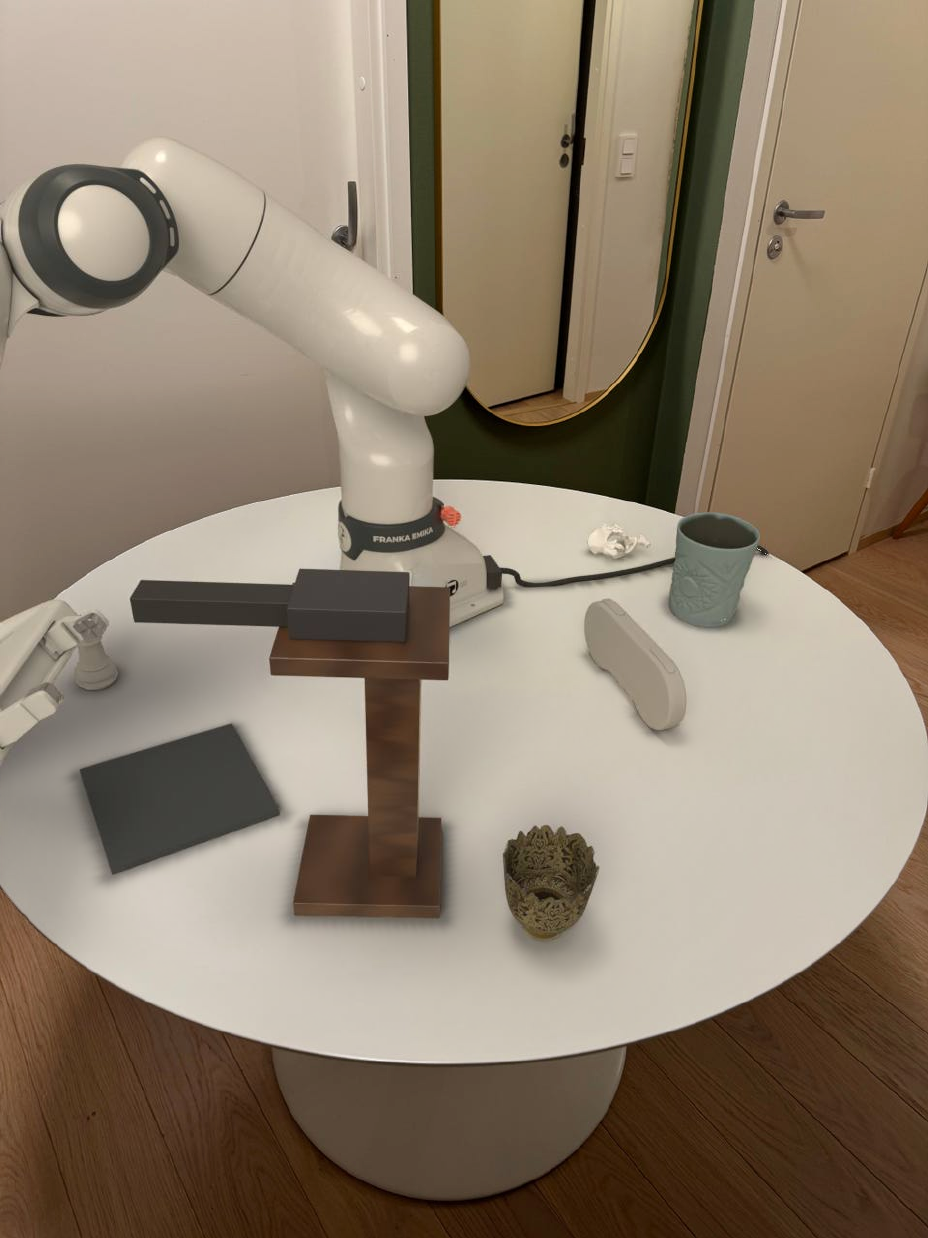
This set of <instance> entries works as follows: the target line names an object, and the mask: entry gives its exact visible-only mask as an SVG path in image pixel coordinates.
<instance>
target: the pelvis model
mask: <svg viewBox="0 0 928 1238" xmlns="http://www.w3.org/2000/svg"><path fill="white" fill-rule="evenodd" d="M613 536H618V537H620V538H621V539H622V540H623V544H622V543H618V540H617V539H614V540H609V539H611V537H613ZM586 545H587V548H588V549H589V551H590V552H591V553H592V554H594V555H597V554H598V553H601V554H603V555H605V556H609V557H611V558H613V559H614V560H616V559H620V558H623V557H626V556H627V555H628V554H629V553H632V552H633V549H634V548H635V547H636V546H637V545H639V546H642V547H644V548H645V549H648V548H650V546H651V543H650V542H649V540H648V539H647V537H646V536H645V535H643V534H639V535H638V538H637V537H636V536H630V535H628V534H627V533H626V532H625V531H624V528H623V527H622V526H619V525H618V523H616V522H613V523H612V524H611V525H608V524H606V523H604V522H602V525H601V526H599V527H598V528H596V529H595V530H593V531H592V532H591V533H590V534H589V536H588V538H587V541H586ZM624 545H625V547H624ZM617 549H618V550H621V552H620V551H619V552H618V550H617Z"/></svg>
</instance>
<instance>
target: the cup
mask: <svg viewBox="0 0 928 1238" xmlns="http://www.w3.org/2000/svg"><path fill="white" fill-rule="evenodd" d="M595 853H596V852H595V849H594V847H593V845H589V846H588V844H587V841H586V839H585V838H584V836H582V834H581V833H580V832H579V833H578V832H575V833H571V834H567V830H566V828H565V827H563V826H562V825H561V826H559V827H558V829H557V830H556V831H555V832H554V830H553V829H552V827H551V825H548V824H544V825H541V826H540V827H538V825H537V824H535V825H534V826H533V827H532V828H531V829H530V830H529V831H527V832H526V834H525V833H524V832H523V831H522V830H519V831H518V833H517V837H516V838H515V839H514V838H511V839H508V840H507V842H506V844H505V847H504V852H503V853H502V863H503V864H502V865H503V881H504V891H505V898H506V902H507V905H508V909H509V911H510V913H511V915H512V916H513V917H514V919H515V920H516V921H517V922H518V924H520V925H521V927H522V928H523V930H524V931H525V933H526V934H527V935H528V936H530V937H531V938H533V939H535V940H538V941H551V940H553V939H555V938H557V937H558V936H559V935H560V934H561V933H563V932H566V931H568V930H569V929H571V928H572V927H573V926H574V925H575V924H576V923H577V922H578V921H579V920H580V918H581V917H582V915H583V914H584V911H585V910H586V908H587V905H588V903H589V900H590V898H591V894H592V892H593V889H594V885H595V884H596V880H597V877H598V875H599V872H600V865H597V864H596V861H595V860H594V858H595V857H594V856H595Z"/></svg>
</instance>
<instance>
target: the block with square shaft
mask: <svg viewBox="0 0 928 1238" xmlns="http://www.w3.org/2000/svg"><path fill="white" fill-rule="evenodd" d="M294 583H295V584H294V585H292V584H284V583H282V584H281V583H255V582H254V583H252V582H225V581H224V582H223V581H218V582H217V581H193V580H192V581H191V580H190V581H188V580H157V579H141V580H140V581H139V583H138V584H137V585H136V587H135V589H134V591H133V593H132V594H131V596H130V597H129V603H130V607H131V612H132V617H133V622H134V623H135V624H137V623H140V624H172V625H201V626H202V625H206V626H238V627H239V626H240V627H241V626H242V627H269V628H270V627H272V628H274V627H275V628H279V627H288V628H289V638H290V639H310V640H344V641H378V642H406V635H407V623H408V612H409V595H410V573H409V572H390V571H359V570H340V569H324V568H298V571H297V575H296V578H295V582H294Z"/></svg>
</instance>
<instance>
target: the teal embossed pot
mask: <svg viewBox="0 0 928 1238" xmlns="http://www.w3.org/2000/svg"><path fill="white" fill-rule="evenodd" d="M760 540H761V533H760V532H759V530H758V529H757V528H756V527H755V526H754V525H753V524H751V523H750V522H749V521H746V520H745V519H742V518H739V517H737V516H733V515H730V514H726V513H721V512H711V511H703V512H694V513H690V514H688V515H686V516H683V517H682V518H680V519H679V521H678V522H677V526H676V535H675V550H674V557H675V559H676V560H675V562H674V563H673V564H672V565H673V566H672V573H671V582H670V585H669V594H668V595H669V596H668V603H667V604H668V609H669V611H670V613H671V614H672V615H673V616H674V617H676V618H677V619H678V620H680V621H682V622H683V623H686V624H689V625H692V626H696V627H700V628H719V627H724V626H725V625H728V624H729V623H731V622H732V620H733V619H734V616H735V614H736V610H737V609H738V606H739V603H740V599H741V592H742V589H743V588H744V585H745V581H746V578H747V575H748V573H749V571H750V569H751V566H752V563H753V561H754V557H755V555H756V552H757V550H756V549H757V546H758V545H759V543H760ZM734 613H735V614H734ZM724 619H726V620H724ZM721 620H722V621H721Z"/></svg>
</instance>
